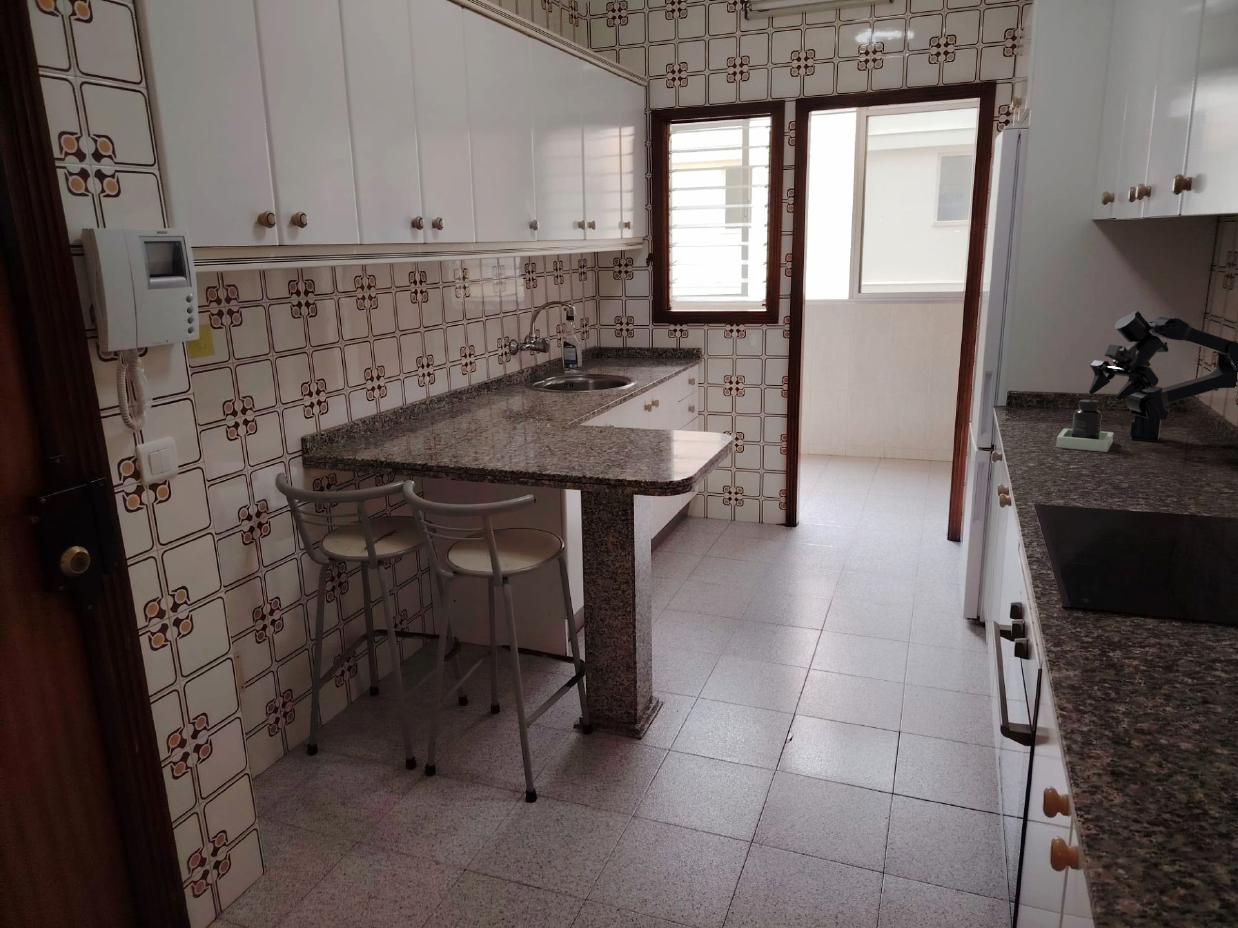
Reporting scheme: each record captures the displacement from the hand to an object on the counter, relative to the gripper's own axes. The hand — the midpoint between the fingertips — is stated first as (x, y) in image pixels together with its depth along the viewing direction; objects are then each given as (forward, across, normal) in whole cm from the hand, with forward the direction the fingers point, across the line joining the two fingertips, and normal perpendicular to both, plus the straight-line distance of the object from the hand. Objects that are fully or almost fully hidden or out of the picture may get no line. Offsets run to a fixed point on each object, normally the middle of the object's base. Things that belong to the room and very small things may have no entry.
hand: (1103, 396), depth 234 cm
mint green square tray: (+13, 0, +6) cm, 14 cm away
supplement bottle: (+12, 0, +6) cm, 14 cm away
